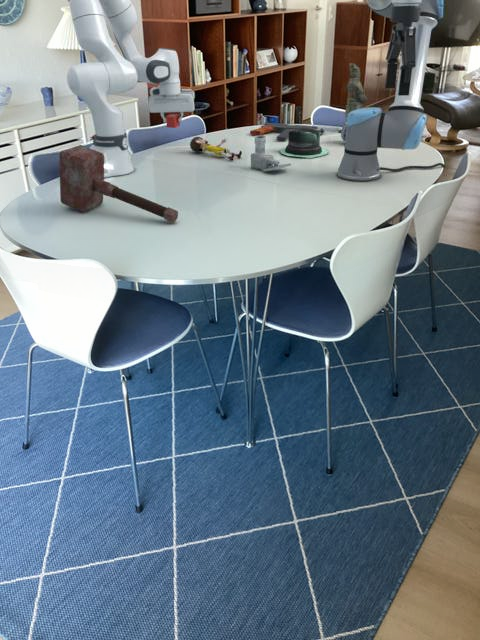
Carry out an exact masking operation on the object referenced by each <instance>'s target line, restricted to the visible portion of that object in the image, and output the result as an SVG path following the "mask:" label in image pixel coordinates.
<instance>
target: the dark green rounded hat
mask: <svg viewBox="0 0 480 640" xmlns="http://www.w3.org/2000/svg"><path fill="white" fill-rule="evenodd" d="M318 130H319V129H311V128H298V129H294V130H291V131H289V137H288V139H287V140H288V141H287V142H288V143H287V145H286V146H285V147H283V148H281V149H280V150H279V153H280V154H282V155H285V156H289V157H296V158H297V157H298V158H307V159H309V158H310V159H311V158H313V159H314V158H317V157H323V156H326V155H327V154H328V150H326V149H325V148H322V146H321V144H320V142H321V135H320V132H319V131H318Z"/></svg>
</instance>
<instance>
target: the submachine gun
mask: <svg viewBox="0 0 480 640" xmlns="http://www.w3.org/2000/svg"><path fill="white" fill-rule="evenodd" d="M298 128H311V129H316V130H318V131H319V132H320V136H322V135H323V134H324V133H325V130H324V128H319V127H318V126H315V125H313V126H312V125H304V124H303V125H302V124H291V123H278V122H264V124H262V125H261V126H260V127H259V128H256V129H252V130H250V131H249V134H250V135H251V136H259V135H262V136H263V135H265V134H268V133H278V135H277V136H276V141H287V140H288V139H289V131H291V130H294V129H298ZM318 128H319V129H318Z"/></svg>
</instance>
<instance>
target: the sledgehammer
mask: <svg viewBox="0 0 480 640" xmlns="http://www.w3.org/2000/svg"><path fill="white" fill-rule="evenodd" d="M59 193H60V194H59V196H60V202H61V204H63V205H64V206H67V207H69V208H72V209H74V210H77V211H78V212H81V213H83V214H84V213H86V212H88V211H90V210H93V209H94V208H96V207H98V206H102V204H103V203H104V196H105V197H109V198H112V199H116V200H119V201H121V202H123V203H126V204H128V205H131V206H134V207H136V208H138V209H141V210H143V211H145V212H148V213H151V214H153V215H156V216H158V217H161V218H163V220H166V221H168V222H170V223H176V221H177V219H178V218H179V211H178V210H177V209H174V208H171V207H169V206H168V207H167V206H164V205H162V204H159V203H157V202H155V201H152V200H149V199H147V198H145V197H143V196H140V195H137V194H134V193H132V192H130V191H127V190H125V189H123V188H121V187H119V186H117V185H115V184H112V183H111V182H109V181H107V180H105V178H104V155H103V154H102V153H101V152H98V151H95V150H93V149H90V147H87V146H85V145H82V144H79V145H75V146H73V147H70V148H67V149H62V150H61V151H60V152H59Z"/></svg>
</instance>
